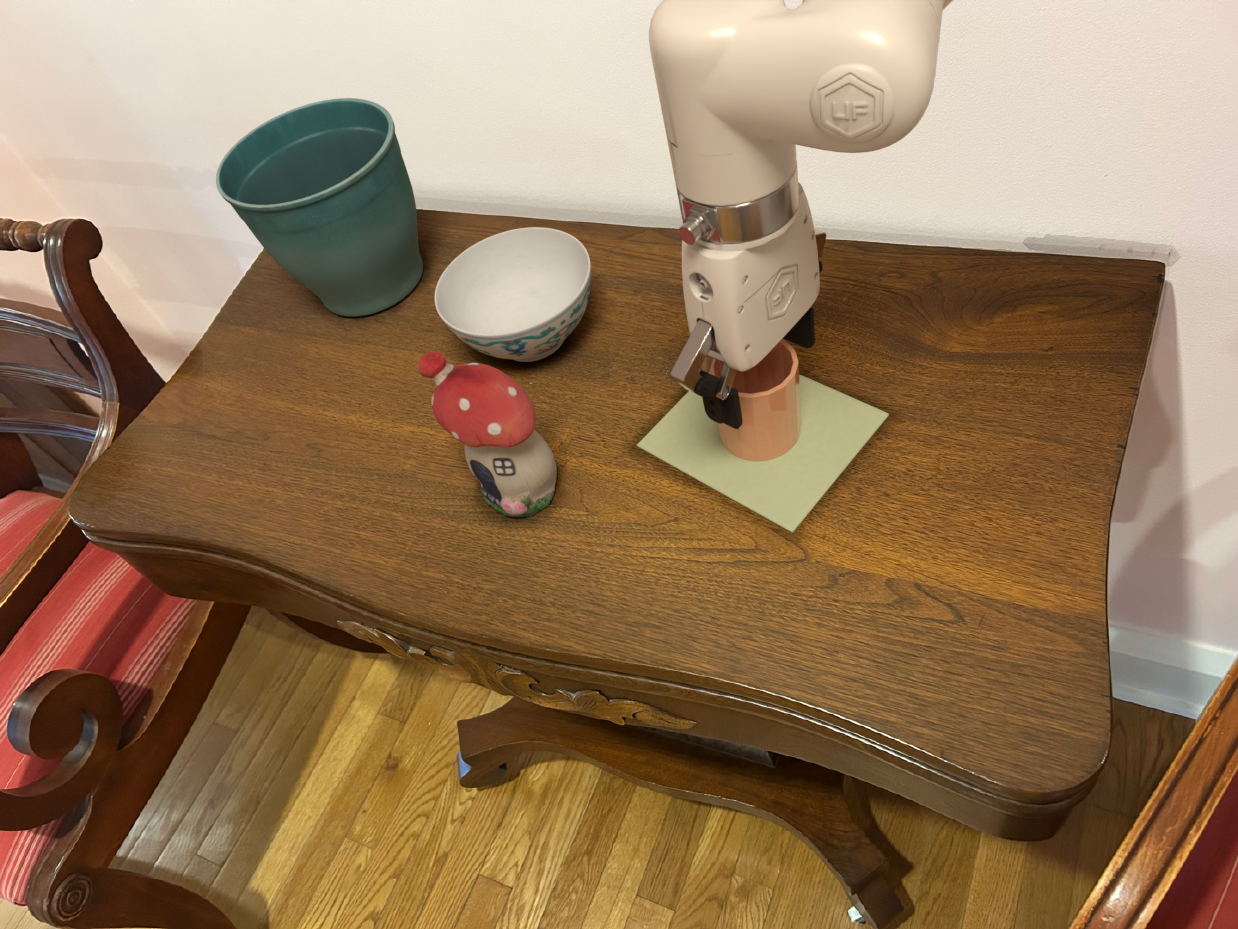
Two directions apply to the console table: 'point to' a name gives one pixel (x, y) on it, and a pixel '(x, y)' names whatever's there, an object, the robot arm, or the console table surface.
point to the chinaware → (516, 292)
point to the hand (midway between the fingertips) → (761, 379)
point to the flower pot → (330, 202)
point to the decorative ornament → (494, 433)
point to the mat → (776, 484)
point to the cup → (765, 406)
